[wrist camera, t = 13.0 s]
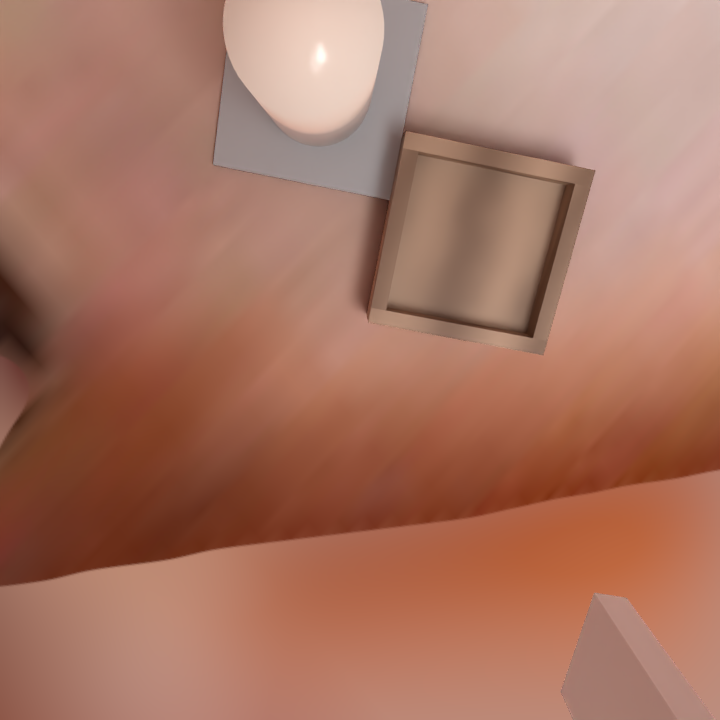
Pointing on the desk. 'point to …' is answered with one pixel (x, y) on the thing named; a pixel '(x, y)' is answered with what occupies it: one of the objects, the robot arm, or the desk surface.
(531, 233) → the holder
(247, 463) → the desk surface
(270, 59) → the white rounded piece
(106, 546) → the desk surface
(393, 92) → the mat
